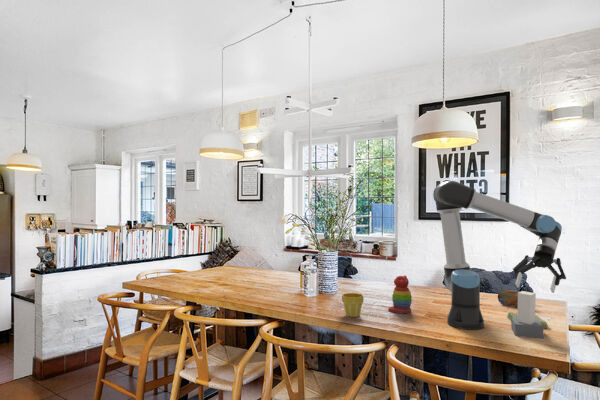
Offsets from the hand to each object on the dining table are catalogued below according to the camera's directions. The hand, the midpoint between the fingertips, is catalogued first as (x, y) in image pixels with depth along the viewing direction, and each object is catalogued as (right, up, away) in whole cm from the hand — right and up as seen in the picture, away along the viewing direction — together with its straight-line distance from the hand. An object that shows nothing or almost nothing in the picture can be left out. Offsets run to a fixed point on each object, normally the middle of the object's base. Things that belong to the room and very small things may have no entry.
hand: (533, 288), depth 168 cm
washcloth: (+4, -19, +12) cm, 22 cm away
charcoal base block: (-5, -18, -4) cm, 19 cm away
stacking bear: (-49, -18, +30) cm, 60 cm away
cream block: (-6, -13, -4) cm, 15 cm away
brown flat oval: (+13, -19, +40) cm, 46 cm away
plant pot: (-74, -18, +23) cm, 80 cm away
